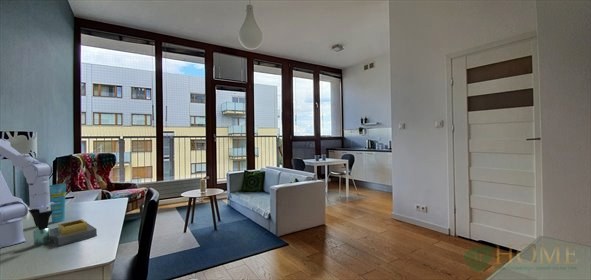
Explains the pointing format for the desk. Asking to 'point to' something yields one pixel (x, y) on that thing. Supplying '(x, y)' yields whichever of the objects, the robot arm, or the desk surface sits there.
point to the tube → (57, 202)
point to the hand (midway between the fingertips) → (41, 227)
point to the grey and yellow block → (72, 232)
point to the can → (41, 237)
